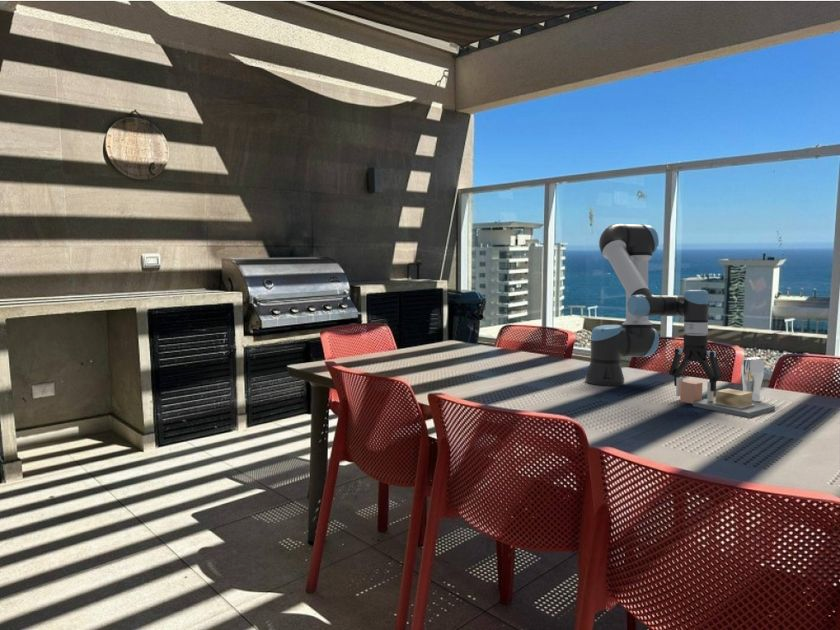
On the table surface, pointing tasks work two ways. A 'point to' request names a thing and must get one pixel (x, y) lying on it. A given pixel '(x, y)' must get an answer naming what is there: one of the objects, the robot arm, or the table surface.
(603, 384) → the robot arm
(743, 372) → the beer glass
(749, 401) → the oak base block
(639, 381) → the table surface
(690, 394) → the terracotta block
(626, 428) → the table surface
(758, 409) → the build board
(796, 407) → the table surface
